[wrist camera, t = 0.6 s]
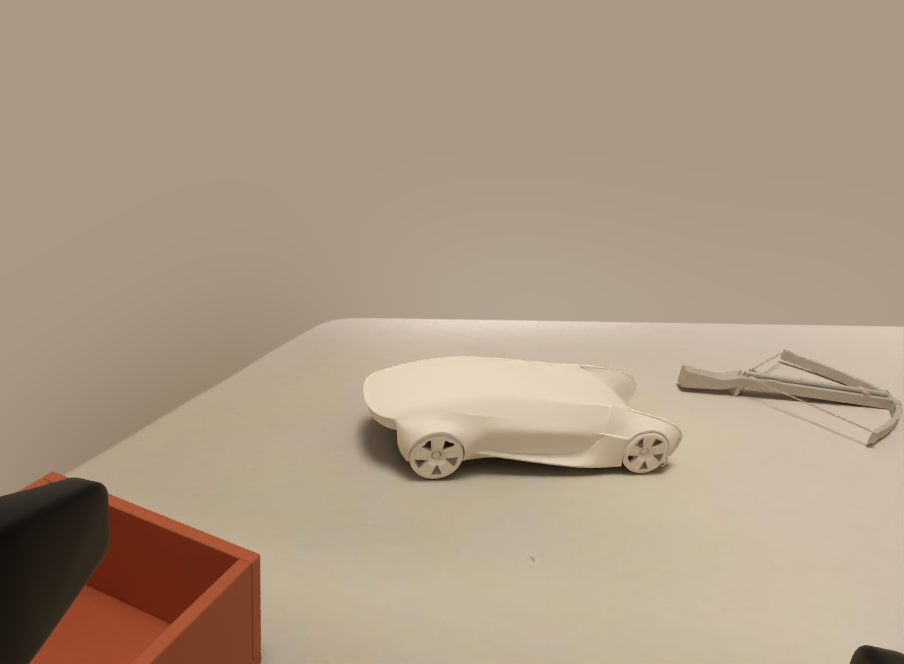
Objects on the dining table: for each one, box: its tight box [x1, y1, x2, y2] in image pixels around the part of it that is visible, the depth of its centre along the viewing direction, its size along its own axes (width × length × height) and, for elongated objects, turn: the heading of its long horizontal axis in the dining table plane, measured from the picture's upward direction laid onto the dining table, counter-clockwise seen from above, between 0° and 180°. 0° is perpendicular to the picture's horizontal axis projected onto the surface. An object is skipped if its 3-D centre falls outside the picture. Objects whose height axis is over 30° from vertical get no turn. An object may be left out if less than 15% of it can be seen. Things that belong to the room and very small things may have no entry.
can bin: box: [18, 472, 261, 664], centre depth 22 cm, size 10×10×5 cm
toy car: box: [363, 356, 682, 479], centre depth 41 cm, size 18×8×4 cm, turn 101°
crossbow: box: [678, 350, 903, 444], centre depth 51 cm, size 16×13×2 cm
